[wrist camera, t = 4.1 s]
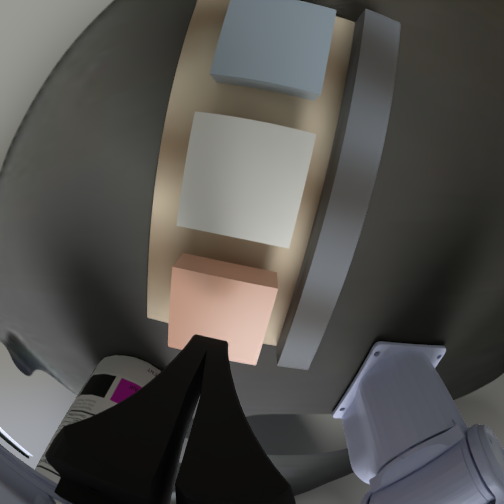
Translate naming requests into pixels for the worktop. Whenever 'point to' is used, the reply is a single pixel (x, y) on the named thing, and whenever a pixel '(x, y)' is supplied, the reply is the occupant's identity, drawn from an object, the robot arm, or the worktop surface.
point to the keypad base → (317, 182)
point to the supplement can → (102, 395)
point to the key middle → (244, 178)
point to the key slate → (275, 46)
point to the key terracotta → (221, 304)
